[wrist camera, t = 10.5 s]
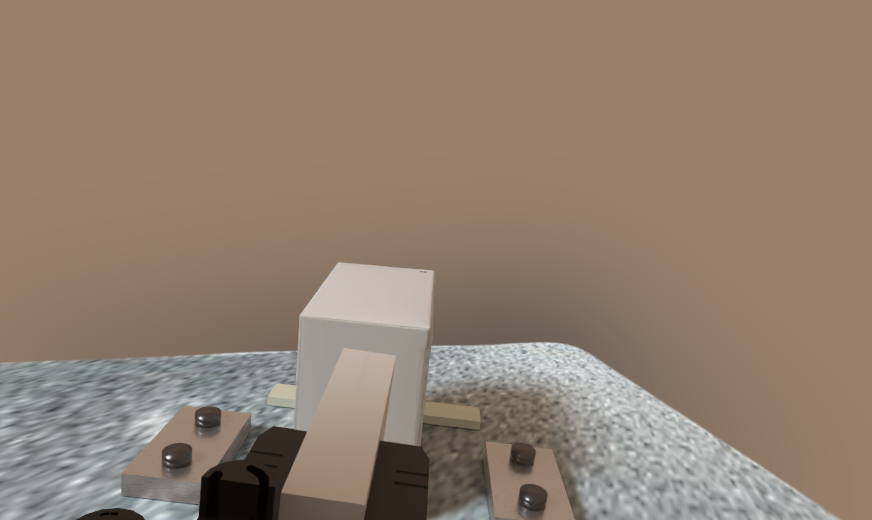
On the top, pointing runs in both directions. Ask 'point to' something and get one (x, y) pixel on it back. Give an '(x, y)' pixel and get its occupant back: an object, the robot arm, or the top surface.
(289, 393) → the cream long thin bar
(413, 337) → the skincare box
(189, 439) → the block
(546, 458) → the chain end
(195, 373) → the top surface
